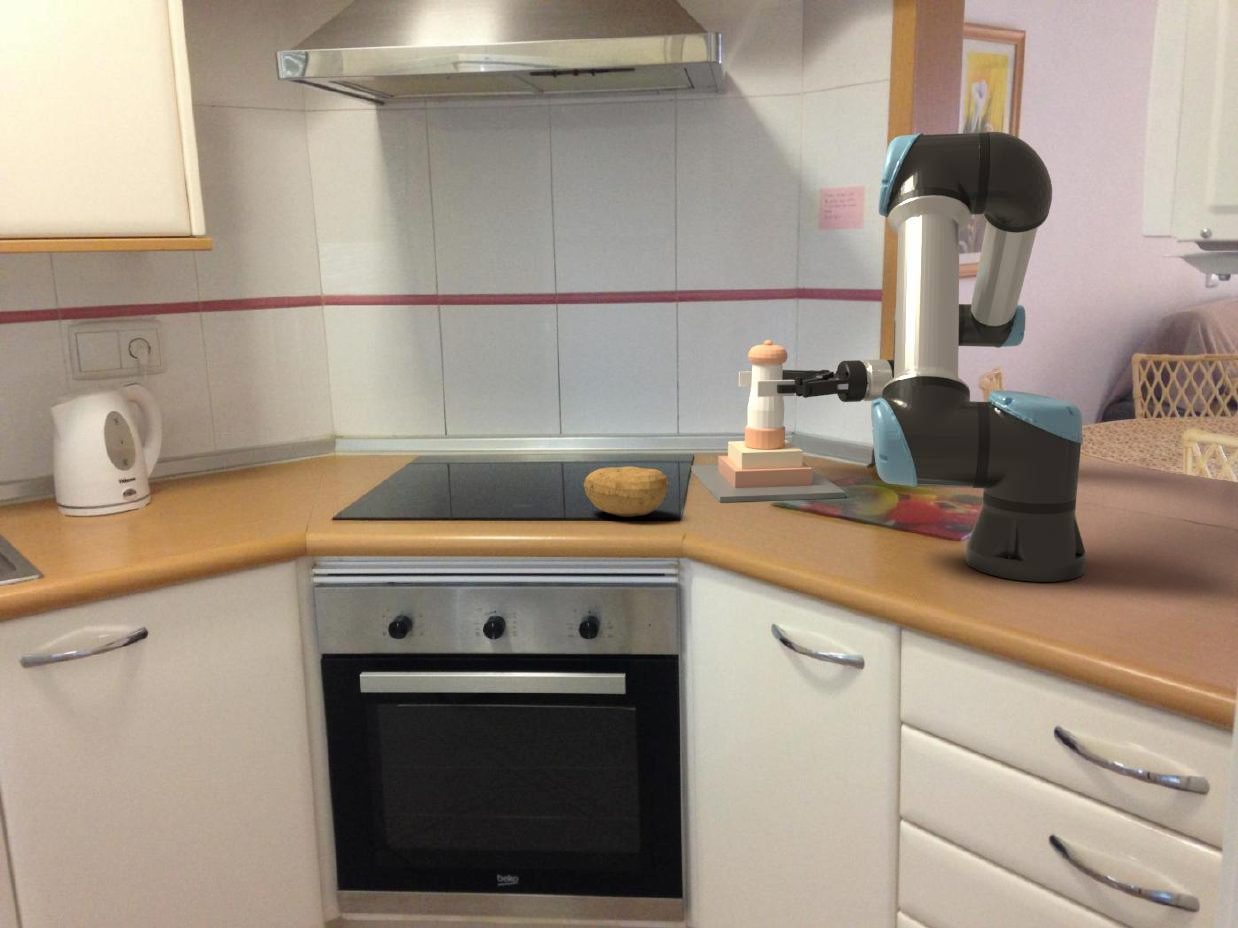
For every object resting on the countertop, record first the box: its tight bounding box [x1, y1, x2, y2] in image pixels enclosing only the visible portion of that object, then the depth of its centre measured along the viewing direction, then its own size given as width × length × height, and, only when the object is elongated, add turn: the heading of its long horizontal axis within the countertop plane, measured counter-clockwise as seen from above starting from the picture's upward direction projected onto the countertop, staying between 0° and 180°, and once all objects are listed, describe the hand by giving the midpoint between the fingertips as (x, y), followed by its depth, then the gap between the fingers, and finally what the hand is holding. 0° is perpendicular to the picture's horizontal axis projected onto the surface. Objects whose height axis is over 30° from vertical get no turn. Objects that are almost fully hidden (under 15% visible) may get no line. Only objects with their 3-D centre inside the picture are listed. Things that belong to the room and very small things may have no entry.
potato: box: [583, 465, 669, 518], centre depth 168 cm, size 10×14×8 cm
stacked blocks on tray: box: [691, 439, 846, 504], centre depth 190 cm, size 26×22×7 cm
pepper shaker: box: [744, 339, 788, 449], centre depth 187 cm, size 7×7×19 cm
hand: (747, 383), depth 187 cm, fingers open, 13 cm apart
